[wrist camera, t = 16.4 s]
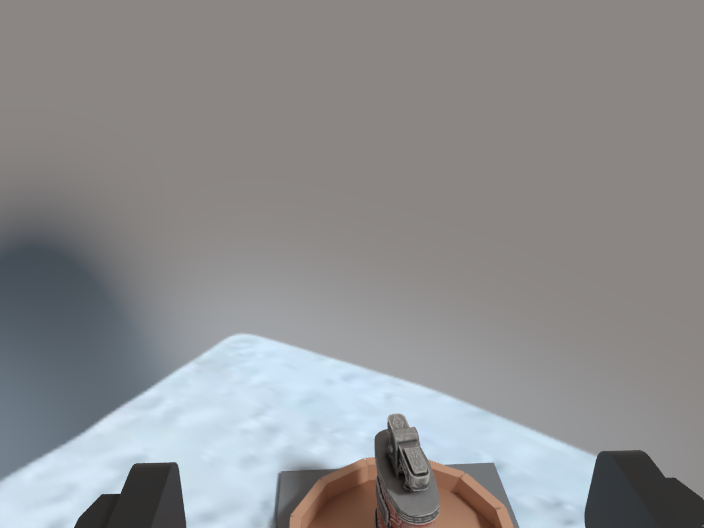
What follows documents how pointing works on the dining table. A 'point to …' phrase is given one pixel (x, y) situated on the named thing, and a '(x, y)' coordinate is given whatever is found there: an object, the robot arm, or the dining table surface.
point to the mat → (302, 482)
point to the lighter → (403, 479)
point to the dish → (360, 500)
